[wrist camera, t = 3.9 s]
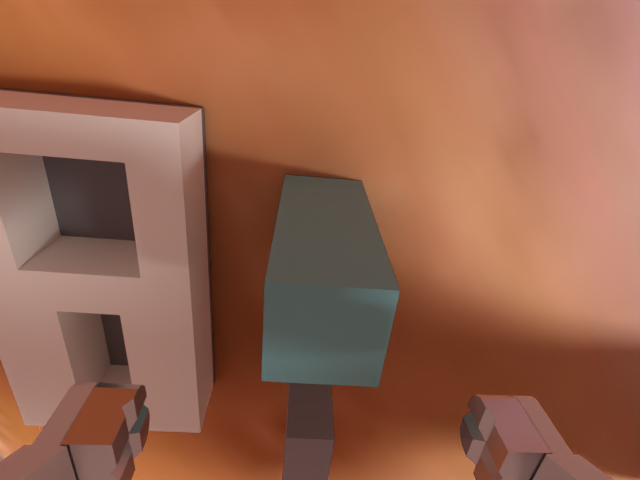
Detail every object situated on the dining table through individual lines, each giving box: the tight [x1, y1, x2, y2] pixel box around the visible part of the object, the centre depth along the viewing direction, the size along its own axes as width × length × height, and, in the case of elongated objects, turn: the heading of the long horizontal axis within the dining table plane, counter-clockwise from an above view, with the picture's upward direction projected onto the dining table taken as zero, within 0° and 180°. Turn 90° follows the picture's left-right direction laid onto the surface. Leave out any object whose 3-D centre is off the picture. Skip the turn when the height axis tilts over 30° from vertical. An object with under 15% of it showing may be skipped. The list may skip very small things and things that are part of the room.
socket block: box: [0, 88, 215, 433], centre depth 21 cm, size 10×18×4 cm, turn 175°
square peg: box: [261, 175, 400, 387], centre depth 17 cm, size 4×4×10 cm
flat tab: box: [282, 383, 335, 480], centre depth 21 cm, size 2×6×9 cm, turn 175°
